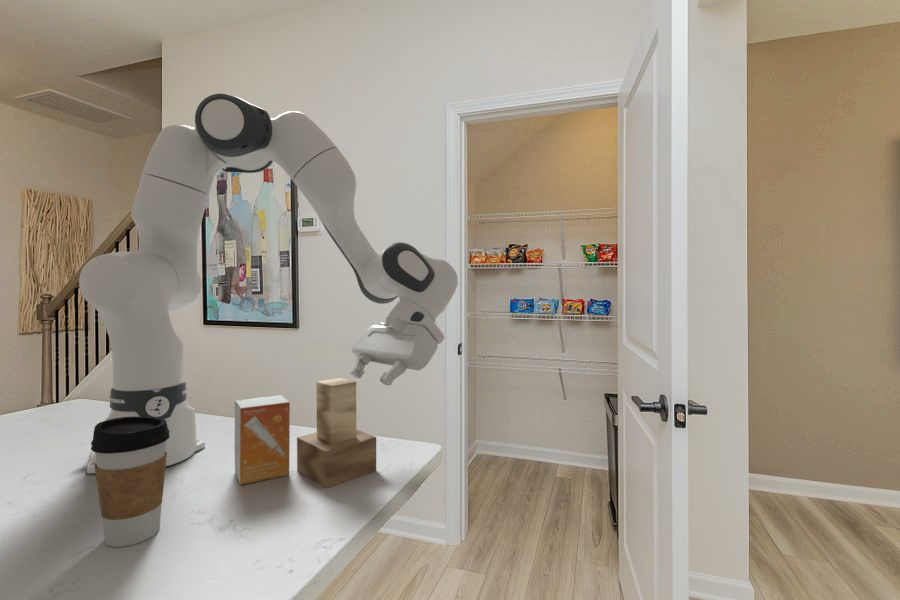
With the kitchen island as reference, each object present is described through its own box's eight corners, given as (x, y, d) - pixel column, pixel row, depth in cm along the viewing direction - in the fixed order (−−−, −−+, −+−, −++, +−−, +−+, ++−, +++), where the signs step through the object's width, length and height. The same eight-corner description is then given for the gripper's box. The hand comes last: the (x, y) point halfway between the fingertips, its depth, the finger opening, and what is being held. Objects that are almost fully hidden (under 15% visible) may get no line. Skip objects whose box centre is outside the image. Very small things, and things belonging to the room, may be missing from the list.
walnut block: (297, 470, 79) (297, 437, 79) (345, 455, 86) (345, 425, 86) (326, 488, 72) (326, 451, 72) (376, 470, 79) (376, 437, 79)
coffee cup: (120, 519, 62) (118, 413, 62) (183, 517, 63) (182, 412, 62) (74, 555, 54) (72, 432, 53) (147, 551, 54) (146, 431, 54)
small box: (239, 486, 73) (239, 407, 72) (234, 473, 78) (233, 399, 78) (290, 475, 77) (290, 401, 77) (282, 463, 82) (281, 394, 82)
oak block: (316, 437, 79) (316, 381, 79) (341, 430, 83) (341, 377, 82) (331, 444, 76) (331, 385, 75) (356, 437, 79) (356, 381, 79)
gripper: (369, 312, 96) (329, 363, 89) (434, 316, 81) (392, 376, 75) (385, 331, 99) (348, 381, 92) (451, 338, 85) (412, 398, 78)
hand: (368, 379), depth 83 cm, fingers open, 8 cm apart
